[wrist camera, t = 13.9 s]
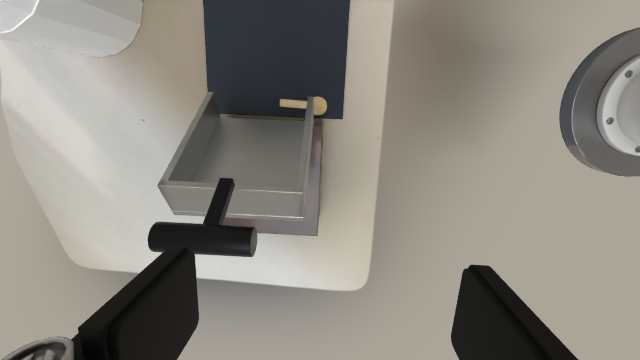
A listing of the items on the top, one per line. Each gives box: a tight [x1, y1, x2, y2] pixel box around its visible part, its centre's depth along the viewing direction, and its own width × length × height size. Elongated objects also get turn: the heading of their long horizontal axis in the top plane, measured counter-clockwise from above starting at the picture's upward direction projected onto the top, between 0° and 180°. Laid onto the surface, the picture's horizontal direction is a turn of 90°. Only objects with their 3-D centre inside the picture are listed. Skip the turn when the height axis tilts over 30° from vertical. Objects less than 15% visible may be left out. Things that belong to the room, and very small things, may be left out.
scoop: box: [148, 92, 314, 257], centre depth 26 cm, size 19×11×6 cm
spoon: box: [280, 97, 327, 115], centre depth 40 cm, size 6×2×1 cm, turn 85°
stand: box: [223, 122, 323, 236], centre depth 39 cm, size 14×13×7 cm
